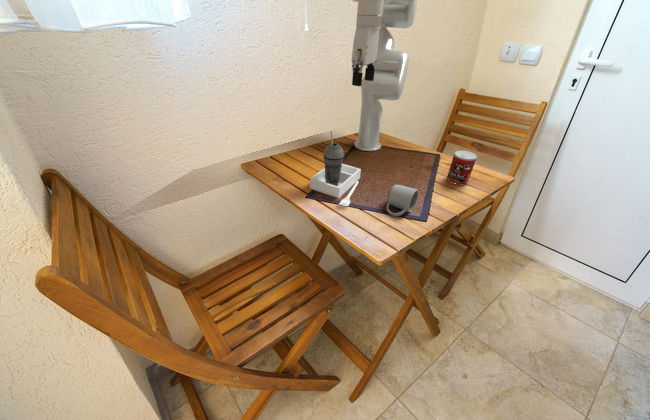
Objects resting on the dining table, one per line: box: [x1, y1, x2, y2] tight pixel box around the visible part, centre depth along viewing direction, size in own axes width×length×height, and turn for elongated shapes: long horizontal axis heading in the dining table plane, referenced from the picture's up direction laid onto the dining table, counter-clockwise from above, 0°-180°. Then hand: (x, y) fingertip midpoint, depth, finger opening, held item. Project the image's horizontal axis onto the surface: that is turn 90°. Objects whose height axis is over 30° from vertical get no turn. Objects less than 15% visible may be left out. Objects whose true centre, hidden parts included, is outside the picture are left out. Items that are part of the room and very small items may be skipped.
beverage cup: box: [322, 130, 345, 186], centre depth 99 cm, size 7×7×20 cm
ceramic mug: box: [386, 184, 419, 217], centre depth 92 cm, size 11×8×8 cm
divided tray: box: [309, 163, 362, 199], centre depth 106 cm, size 17×12×4 cm
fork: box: [338, 180, 359, 207], centre depth 101 cm, size 3×20×2 cm, turn 158°
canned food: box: [446, 150, 478, 185], centre depth 108 cm, size 8×8×11 cm
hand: (363, 83), depth 96 cm, fingers open, 9 cm apart
